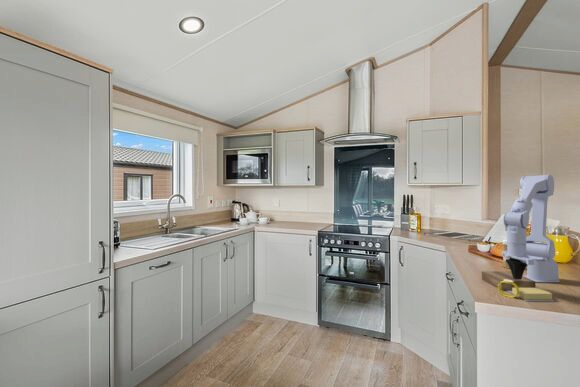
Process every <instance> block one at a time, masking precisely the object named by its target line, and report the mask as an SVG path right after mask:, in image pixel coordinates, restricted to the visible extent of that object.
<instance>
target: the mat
mask: <svg viewBox="0 0 580 387" xmlns="http://www.w3.org/2000/svg"><path fill="white" fill-rule="evenodd" d="M505 291H506V292H508V293H510V294H511V295H513V296H515V294H513V293H512V290H505ZM516 297H517V298H519V299H522V301H525V302H541V303H543V302H545V303H546V302H549V303H550V302H552V303H553V302H554V303H555V302H556V300H555V299H552V300H550V299H523V298H521V297H519V296H516Z"/></svg>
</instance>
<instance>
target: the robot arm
mask: <svg viewBox="0 0 580 387" xmlns="http://www.w3.org/2000/svg"><path fill="white" fill-rule="evenodd" d="M519 186H520V188H521V194H520V196H519V198H517V199H515V200H514V202H513V203H512V206H511V208H510V210H509V211H508V212H506V213H504V215H503V224H504V231H506V240H507V251H503V250H501V256H502V257H503V256H505V257H509V258H510V259H506V262H507V263H508V265H509V267H510V269H509V270H510V271H511V272H512V276H513V278H514V279H522V276H524V277H526V278H528V279H531V280H533V281H535V283H561V281H560V280H559V264H558V263H557V261H556V260H555V256H556V246H555V242H554V241H553V239H552V238H550V237H548V236H547V218H548V217H547V216H548V202H549V197H551V196H553V195H554V193H555V179H554V176H553V175H552V174H540V175H538V174H537V175H523V176H521V178H520V180H519ZM530 213H531V219H530ZM530 220H531V222H530ZM529 223H531V225H530V234H529V235H527V228H528V226H529ZM525 270H526V274H525V275H524V272H525Z"/></svg>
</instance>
